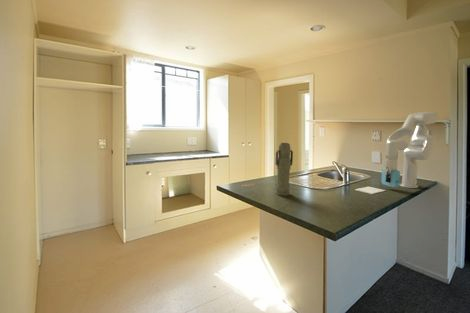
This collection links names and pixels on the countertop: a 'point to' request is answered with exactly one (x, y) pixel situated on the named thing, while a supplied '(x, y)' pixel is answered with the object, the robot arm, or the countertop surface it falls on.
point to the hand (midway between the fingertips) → (390, 181)
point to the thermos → (283, 169)
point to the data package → (394, 178)
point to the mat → (370, 190)
